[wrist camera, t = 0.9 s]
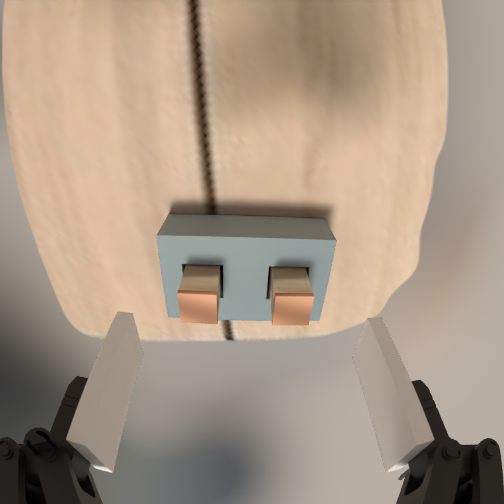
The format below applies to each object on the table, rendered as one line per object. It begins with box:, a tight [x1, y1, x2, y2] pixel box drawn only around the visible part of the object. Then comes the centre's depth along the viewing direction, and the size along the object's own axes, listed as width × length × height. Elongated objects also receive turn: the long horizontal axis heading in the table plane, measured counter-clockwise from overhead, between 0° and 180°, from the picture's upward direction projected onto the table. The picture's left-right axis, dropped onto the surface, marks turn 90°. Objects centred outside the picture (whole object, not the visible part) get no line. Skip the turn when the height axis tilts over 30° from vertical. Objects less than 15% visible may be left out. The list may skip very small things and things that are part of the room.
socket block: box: [157, 214, 337, 321], centre depth 38 cm, size 12×20×6 cm, turn 88°
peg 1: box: [177, 264, 221, 324], centre depth 34 cm, size 4×4×6 cm
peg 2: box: [269, 266, 314, 325], centre depth 34 cm, size 4×4×6 cm
